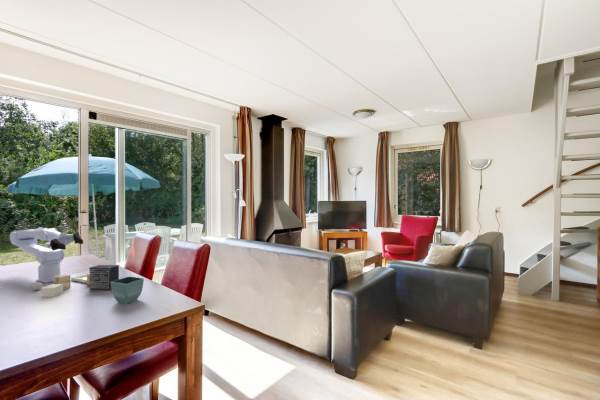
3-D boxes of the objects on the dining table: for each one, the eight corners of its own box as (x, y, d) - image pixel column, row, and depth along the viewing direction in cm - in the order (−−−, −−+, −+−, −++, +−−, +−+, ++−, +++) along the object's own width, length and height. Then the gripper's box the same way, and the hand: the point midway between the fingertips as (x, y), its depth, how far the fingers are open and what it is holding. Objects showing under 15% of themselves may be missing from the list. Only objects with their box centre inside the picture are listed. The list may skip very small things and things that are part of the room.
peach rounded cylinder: (85, 284, 145) (84, 274, 145) (94, 282, 149) (94, 272, 149) (90, 285, 143) (90, 275, 143) (99, 283, 147) (99, 273, 147)
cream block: (42, 297, 128) (42, 287, 128) (52, 293, 133) (52, 284, 133) (53, 297, 128) (53, 287, 128) (63, 293, 133) (63, 284, 133)
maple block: (53, 289, 138) (53, 276, 138) (64, 286, 142) (64, 274, 142) (59, 290, 136) (59, 277, 136) (70, 287, 140) (70, 275, 140)
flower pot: (144, 299, 125) (144, 278, 125) (126, 306, 117) (126, 284, 117) (129, 296, 128) (128, 276, 128) (110, 303, 120) (109, 281, 119)
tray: (71, 280, 151) (71, 277, 151) (95, 274, 162) (95, 271, 162) (86, 283, 146) (86, 280, 146) (110, 277, 157) (110, 273, 157)
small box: (120, 286, 142) (119, 264, 142) (110, 290, 136) (109, 268, 136) (99, 285, 143) (99, 264, 143) (88, 289, 137) (88, 267, 137)
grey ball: (30, 290, 136) (29, 282, 136) (39, 288, 139) (39, 280, 139) (34, 291, 134) (34, 283, 134) (44, 289, 138) (43, 281, 138)
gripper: (39, 235, 142) (55, 241, 136) (72, 226, 154) (88, 232, 149) (41, 249, 143) (57, 255, 138) (74, 239, 156) (90, 245, 150)
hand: (73, 244), depth 143 cm, fingers open, 7 cm apart
